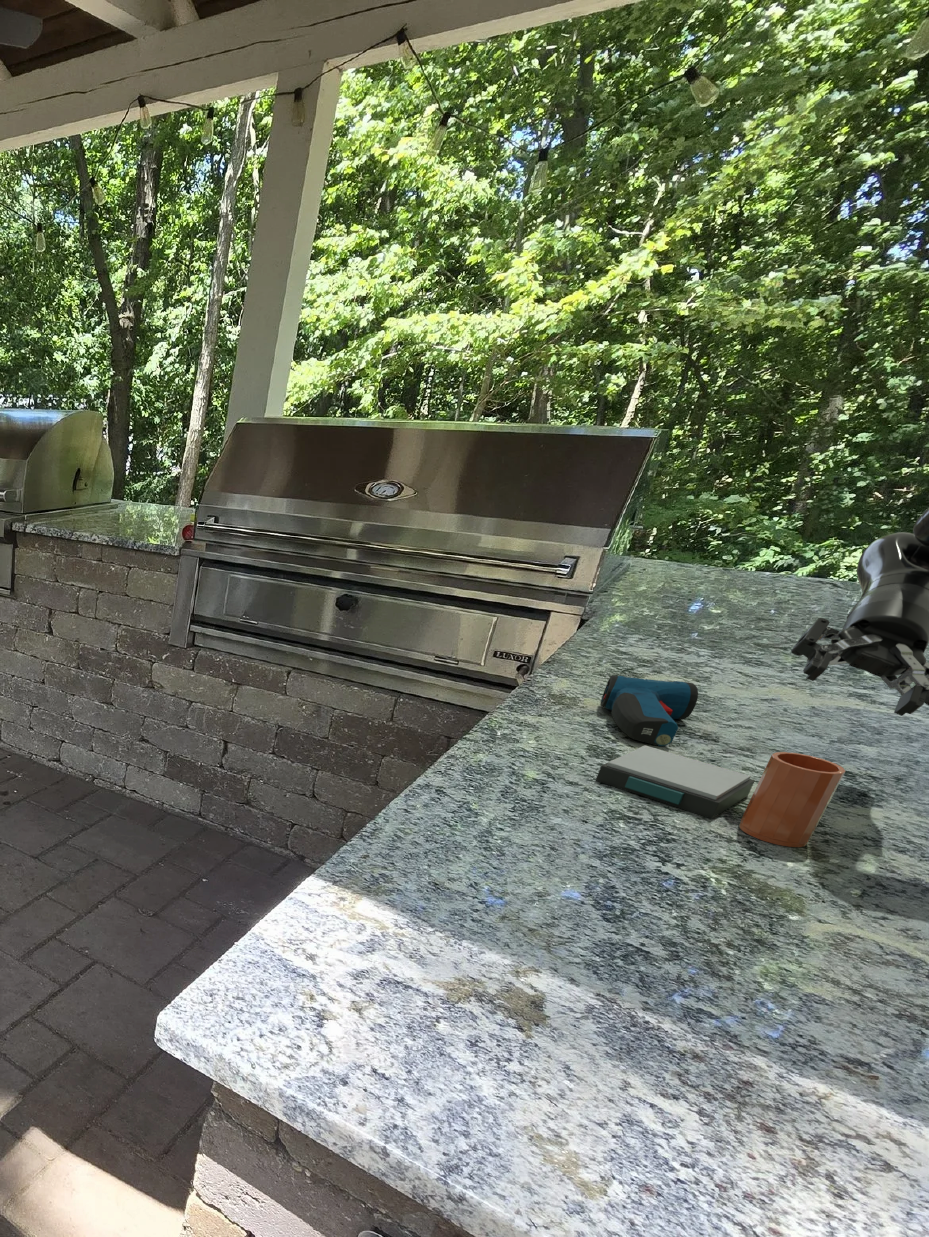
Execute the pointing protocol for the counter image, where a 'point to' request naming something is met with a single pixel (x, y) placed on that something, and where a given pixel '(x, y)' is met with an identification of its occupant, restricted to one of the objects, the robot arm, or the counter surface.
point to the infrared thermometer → (649, 707)
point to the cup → (791, 798)
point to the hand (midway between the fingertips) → (859, 692)
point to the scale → (677, 780)
